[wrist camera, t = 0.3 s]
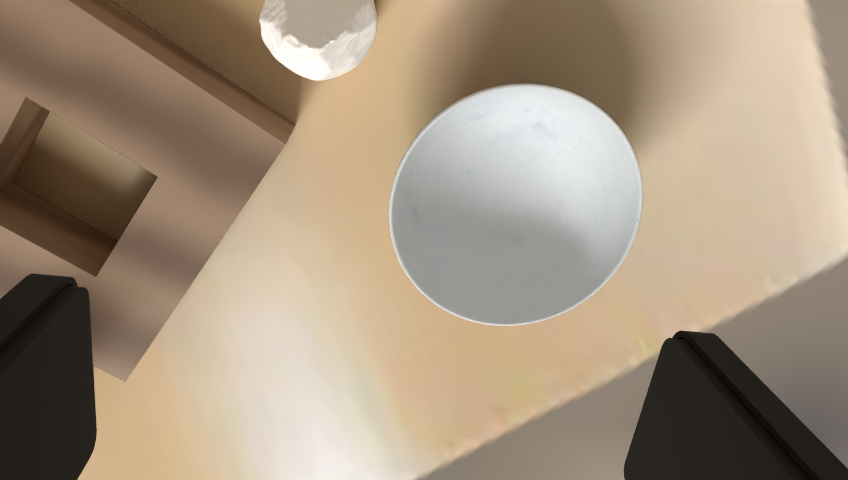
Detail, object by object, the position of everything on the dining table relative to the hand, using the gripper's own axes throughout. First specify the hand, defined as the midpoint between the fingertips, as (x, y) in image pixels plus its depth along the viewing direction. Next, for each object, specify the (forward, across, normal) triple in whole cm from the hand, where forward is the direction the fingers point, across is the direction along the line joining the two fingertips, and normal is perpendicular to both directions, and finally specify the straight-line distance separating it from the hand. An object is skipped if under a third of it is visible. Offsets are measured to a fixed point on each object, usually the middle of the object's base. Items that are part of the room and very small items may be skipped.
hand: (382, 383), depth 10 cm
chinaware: (+34, -9, +5) cm, 35 cm away
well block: (+34, +17, +8) cm, 39 cm away
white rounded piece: (+34, +3, -4) cm, 34 cm away
